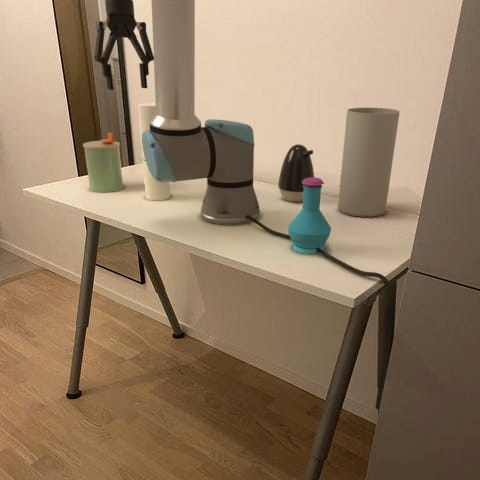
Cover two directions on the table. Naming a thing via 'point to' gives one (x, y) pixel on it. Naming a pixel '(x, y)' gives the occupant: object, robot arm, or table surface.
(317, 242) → the perfume bottle
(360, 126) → the cylinder vase
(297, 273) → the table surface
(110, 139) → the lid slider
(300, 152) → the pump dispenser
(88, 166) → the green lidded canister
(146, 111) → the cylindrical container
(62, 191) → the table surface
